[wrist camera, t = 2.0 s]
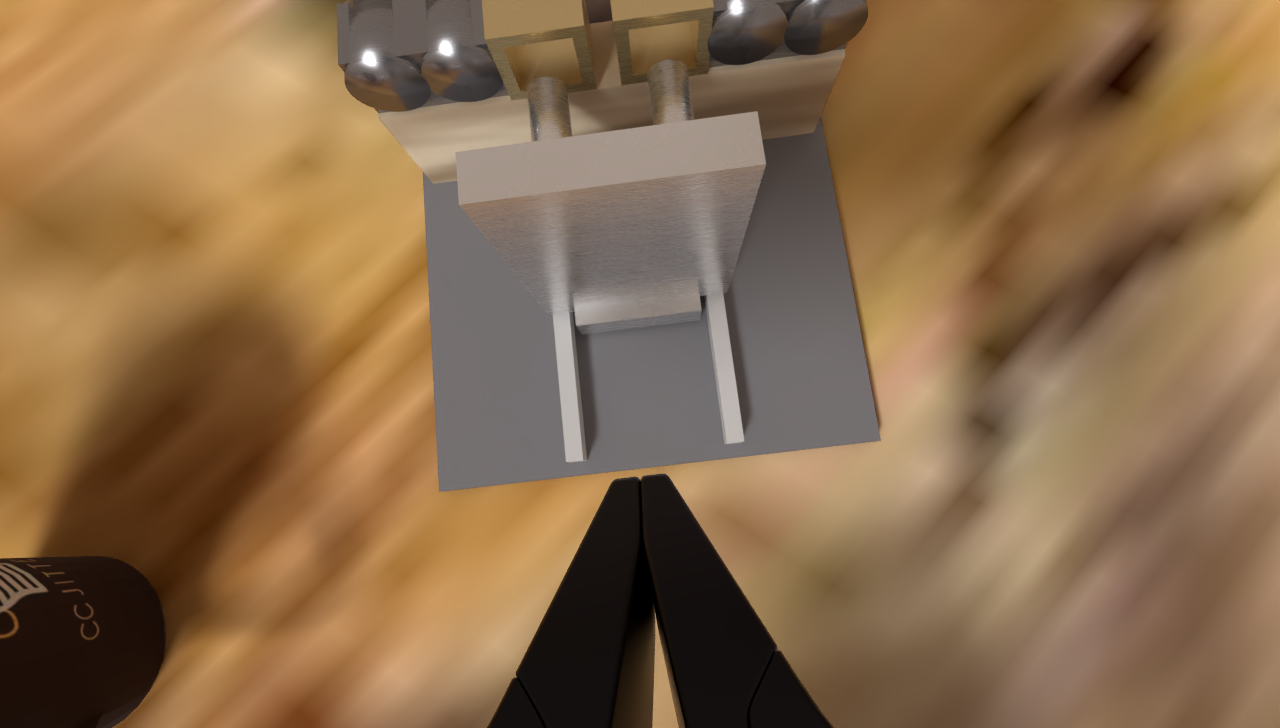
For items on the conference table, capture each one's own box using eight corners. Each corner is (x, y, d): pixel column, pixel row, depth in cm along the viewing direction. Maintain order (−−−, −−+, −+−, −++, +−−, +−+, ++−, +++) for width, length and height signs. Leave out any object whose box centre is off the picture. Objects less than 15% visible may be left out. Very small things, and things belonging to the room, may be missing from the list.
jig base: (875, 441, 22) (890, 438, 20) (445, 491, 22) (428, 492, 21) (807, 75, 25) (817, 48, 23) (426, 127, 25) (409, 104, 24)
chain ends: (852, 53, 19) (882, -17, 16) (372, 119, 20) (324, 62, 17) (839, -12, 19) (866, -91, 17) (370, 55, 20) (322, -12, 17)
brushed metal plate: (727, 316, 22) (770, 191, 12) (555, 338, 22) (460, 231, 12) (704, 162, 23) (728, -68, 13) (541, 184, 23) (444, -27, 13)
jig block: (813, 133, 23) (845, 54, 19) (433, 183, 24) (378, 118, 20) (803, 78, 24) (833, -11, 19) (430, 129, 24) (376, 54, 20)
